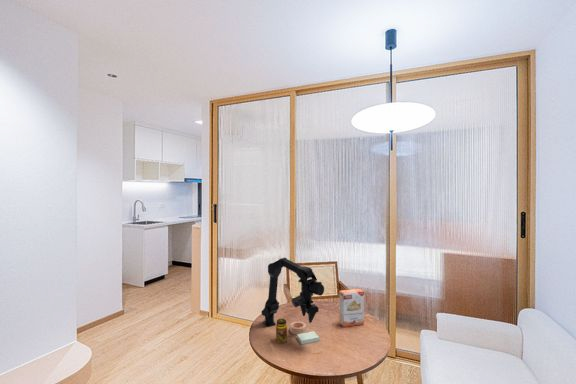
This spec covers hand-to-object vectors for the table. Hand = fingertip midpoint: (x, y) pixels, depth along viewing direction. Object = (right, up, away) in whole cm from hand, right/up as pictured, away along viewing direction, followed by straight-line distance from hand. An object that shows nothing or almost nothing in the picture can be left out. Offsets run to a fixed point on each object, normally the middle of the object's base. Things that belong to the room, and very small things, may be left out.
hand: (306, 319), depth 158 cm
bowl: (-4, -12, +10) cm, 17 cm away
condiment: (-15, -13, 0) cm, 19 cm away
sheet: (+1, -11, 0) cm, 11 cm away
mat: (+1, -12, 0) cm, 12 cm away
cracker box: (+29, -12, +19) cm, 37 cm away
